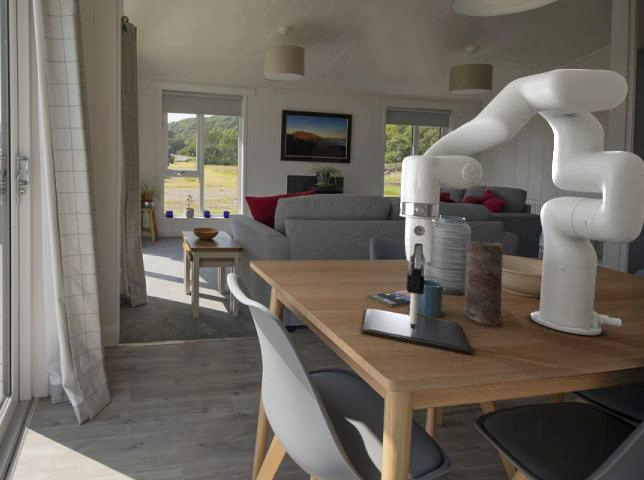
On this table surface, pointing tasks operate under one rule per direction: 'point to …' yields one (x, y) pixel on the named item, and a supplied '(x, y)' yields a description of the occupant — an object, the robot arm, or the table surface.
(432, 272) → the vase
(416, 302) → the stylus
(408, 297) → the smartphone
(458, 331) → the tablet
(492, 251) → the candle
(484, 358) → the table surface
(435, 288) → the pen cup
